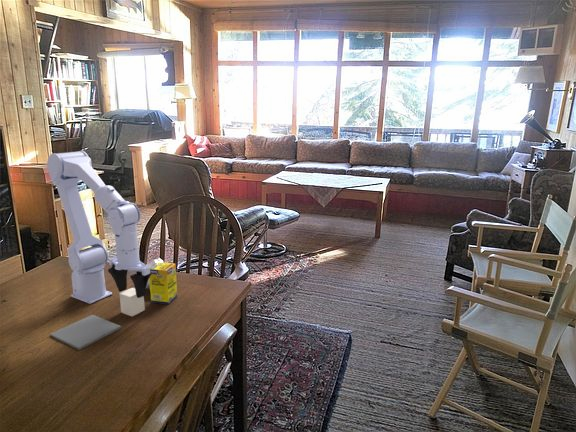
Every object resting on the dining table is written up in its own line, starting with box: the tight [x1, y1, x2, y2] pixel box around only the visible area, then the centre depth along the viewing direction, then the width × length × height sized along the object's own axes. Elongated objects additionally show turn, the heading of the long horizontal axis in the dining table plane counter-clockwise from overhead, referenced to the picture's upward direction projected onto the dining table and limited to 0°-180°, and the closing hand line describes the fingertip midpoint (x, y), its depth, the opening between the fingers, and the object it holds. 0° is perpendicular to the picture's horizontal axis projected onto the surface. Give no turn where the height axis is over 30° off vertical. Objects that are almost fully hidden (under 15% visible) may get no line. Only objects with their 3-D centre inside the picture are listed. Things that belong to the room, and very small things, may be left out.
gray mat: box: [49, 314, 122, 351], centre depth 108 cm, size 12×12×1 cm
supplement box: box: [149, 261, 178, 305], centre depth 126 cm, size 6×6×11 cm
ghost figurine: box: [145, 258, 165, 291], centre depth 133 cm, size 9×10×10 cm
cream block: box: [119, 287, 146, 317], centre depth 119 cm, size 4×4×6 cm
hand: (131, 293), depth 118 cm, fingers open, 7 cm apart
